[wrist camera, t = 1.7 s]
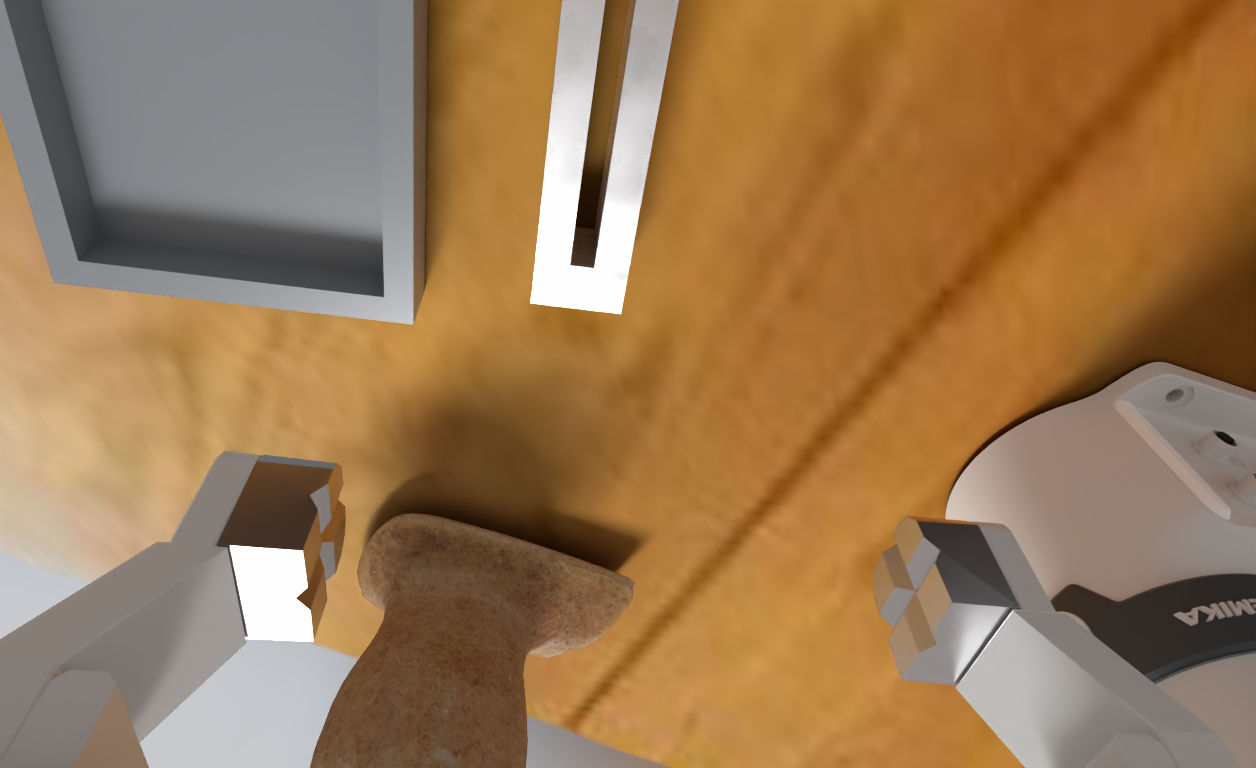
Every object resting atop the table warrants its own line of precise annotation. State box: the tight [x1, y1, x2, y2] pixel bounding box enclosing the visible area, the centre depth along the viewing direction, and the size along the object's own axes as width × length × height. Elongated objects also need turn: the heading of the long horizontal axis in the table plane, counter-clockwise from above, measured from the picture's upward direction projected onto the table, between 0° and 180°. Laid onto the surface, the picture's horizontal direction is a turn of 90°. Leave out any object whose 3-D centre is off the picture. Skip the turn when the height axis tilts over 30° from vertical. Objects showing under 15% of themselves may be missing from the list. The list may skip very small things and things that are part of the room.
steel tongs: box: [531, 0, 679, 314], centre depth 29 cm, size 4×20×4 cm, turn 171°
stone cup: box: [310, 513, 635, 768], centre depth 44 cm, size 15×12×15 cm
